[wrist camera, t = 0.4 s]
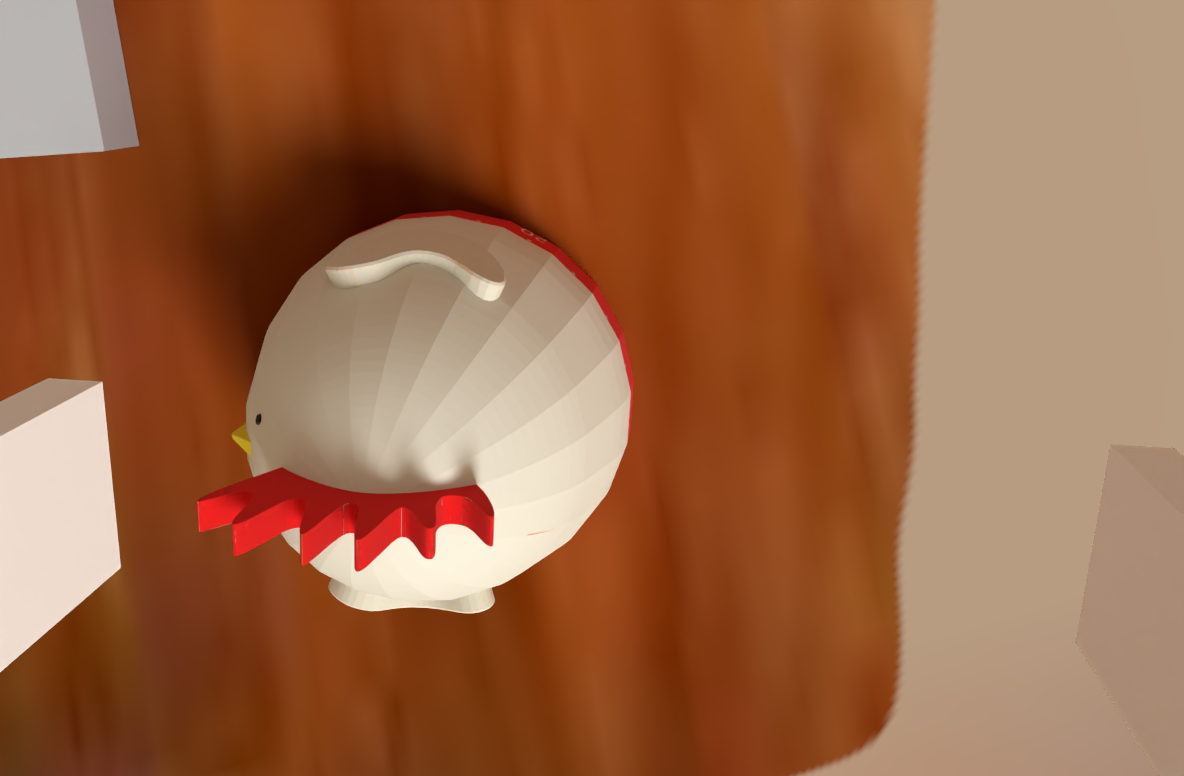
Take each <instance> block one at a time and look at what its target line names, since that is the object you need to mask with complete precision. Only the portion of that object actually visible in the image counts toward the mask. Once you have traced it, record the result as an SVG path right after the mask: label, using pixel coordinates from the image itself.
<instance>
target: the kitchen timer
mask: <svg viewBox="0 0 1184 776" xmlns="http://www.w3.org/2000/svg"><path fill="white" fill-rule="evenodd" d="M633 386H634V378H633V374H632V369H631V365H630V361H629V356H628V352H627V348H626V343H625V339H624V334H623V330H622V328H621V327H620V325H619V323H618V321H617V320H616V318H615V316H614V314H613V312H612V311H611V309H610V307H609V305H608V304H607V302H606V300H605V298H604V296H603V295H602V293H601V291H600V289H599V288H598V286H597V284H596V283H595V282H594V281H593V280H592V279H591V278H590V277H589V276H588V275H587V274H586V273H585V272H584V271H583V270H581V269H580V268H579V267H578V266H577V265H576V264H575V263H574V262H573V261H572V260H571V259H570V258H569V257H568V256H567V255H566V254H565V253H564V252H563V251H562V250H561V249H560V248H559V247H558V246H556V245H554V244H552V243H550V242H548V241H547V240H545V239H543V238H541V237H539V236H537V235H536V234H534V233H532V232H530V231H528V230H526V229H525V228H523V227H521V226H519V225H517V224H515V223H514V222H512V221H508V220H503V219H499V218H494V217H490V216H485V215H480V214H476V213H471V212H467V211H462V210H451V211H437V212H424V213H410V214H405V215H403V216H400V217H398V218H395V219H392V220H390V221H387V222H385V223H382V224H380V225H377V226H375V227H372V228H370V229H367V230H364V231H362V232H359V233H357V234H355V235H353V236H351V237H349V238H347V239H346V240H345V241H343V242H342V243H341V244H340V245H339V246H337V247H336V248H335V249H334V250H332V251H331V252H330V253H329V254H327V255H326V256H325V257H324V258H323V259H321V260H320V261H319V262H318V263H316V264H315V265H314V266H313V267H311V268H310V269H309V270H308V271H307V272H306V273H304V274H303V275H302V276H301V278H300V279H299V281H298V282H297V283H296V285H295V287H294V288H293V290H292V291H291V293H290V294H289V296H288V297H287V299H286V300H285V302H284V304H283V305H282V307H281V308H280V310H279V311H278V313H277V314H276V316H275V317H274V319H273V321H272V322H271V324H270V325H269V328H268V330H267V332H266V335H265V338H264V342H263V345H262V348H261V352H260V356H259V359H258V363H257V367H256V370H255V374H254V378H253V381H252V385H251V389H250V392H249V396H248V400H247V404H246V423H245V424H244V425H243V426H241V427H240V428H238V429H237V430H236V431H234V432H233V433H232V438H233V439H234V440H235V441H236V442H237V443H238V444H239V445H240V446H241V447H242V448H243V449H244V450H245V451H246V452H247V453H248V461H249V465H250V468H251V471H252V474H253V477H252V478H250V479H247V480H244V481H241V482H238V483H235V484H233V485H230V486H227V487H225V488H222V489H219V490H217V491H215V492H213V493H210V494H208V495H206V496H204V497H202V498H200V499H199V500H197V508H198V529H199V532H202V531H206V530H210V529H214V528H217V527H221V526H224V525H228V524H232V535H233V555H234V556H238V555H241V554H243V553H245V552H247V551H249V550H251V549H253V548H255V547H257V546H259V545H260V544H262V543H264V542H266V541H268V540H269V539H271V538H273V537H275V536H277V535H279V534H280V533H281V534H282V535H283V537H284V538H285V540H286V541H287V543H288V544H289V545H290V546H292V547H293V548H294V549H295V550H296V551H297V552H298V553H299V554H300V564H301V566H304V565H306V564H308V563H311V564H312V565H313V566H314V567H315V568H316V569H317V570H318V571H320V572H322V573H324V574H326V575H327V576H329V577H331V578H332V579H331V581H330V583H329V590H330V592H331V593H332V594H333V595H334V596H335V597H336V598H337V599H338V600H339V601H341V602H342V603H344V604H346V605H348V606H351V607H353V608H357V609H361V610H368V611H381V610H388V609H395V608H405V607H419V608H433V609H442V610H448V611H453V612H460V613H477V612H481V611H485V610H487V609H489V608H490V607H491V606H492V605H493V604H494V602H495V598H494V595H493V592H492V588H491V587H495V586H498V585H501V584H503V583H505V582H507V581H509V580H510V579H512V578H514V577H515V576H517V575H519V574H520V573H522V572H523V571H525V570H526V569H528V568H529V567H531V566H532V565H534V564H535V563H537V562H538V561H540V560H541V559H543V558H544V557H546V556H547V555H549V554H550V553H552V552H553V551H555V550H556V549H558V548H559V547H561V546H562V545H564V544H565V543H566V542H568V541H569V540H570V539H571V538H572V537H573V535H574V534H575V533H576V532H577V531H578V529H579V528H580V527H581V526H582V524H583V523H584V522H585V521H586V519H587V518H588V517H589V516H590V514H591V513H592V512H593V511H594V509H595V508H596V507H597V506H598V504H599V503H600V502H601V501H602V500H603V498H604V497H605V496H606V494H607V492H608V491H609V489H610V486H611V484H612V481H613V478H614V476H615V473H616V471H617V468H618V466H619V463H620V461H621V458H622V455H623V453H624V450H625V448H626V445H627V442H628V438H629V434H630V429H631V414H632V400H633Z"/></svg>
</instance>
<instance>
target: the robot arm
mask: <svg viewBox="0 0 1184 776" xmlns="http://www.w3.org/2000/svg"><path fill="white" fill-rule="evenodd" d="M120 568H121V564H120V554H119V544H118V534H117V524H116V514H115V504H114V494H113V484H112V474H111V464H110V454H109V444H108V434H107V424H106V414H105V404H104V394H103V384H102V382H99V381H83V380H67V379H51V378H48V379H46V380H44V381H42V382H40V383H38V384H36V385H34V386H31V387H29V388H27V389H25V390H23V391H21V392H19V393H17V394H15V395H13V396H11V397H9V398H7V399H5V400H3V401H1V402H0V672H1V671H2V670H3V669H4V668H6V667H7V666H8V665H9V664H10V663H11V662H13V661H14V660H15V659H16V658H17V657H18V656H19V655H21V654H22V653H23V652H24V651H25V650H26V649H28V648H29V647H30V646H31V645H32V644H33V643H34V642H36V641H37V640H38V639H39V638H40V637H41V636H43V635H44V634H45V633H46V632H47V631H48V630H49V629H51V628H52V627H53V626H54V625H55V624H56V623H58V622H59V621H60V620H61V619H62V618H63V617H64V616H66V615H67V614H68V613H69V612H70V611H71V610H73V609H74V608H75V607H76V606H77V605H78V604H79V603H81V602H82V601H83V600H84V599H85V598H86V597H88V596H89V595H90V594H91V593H92V592H93V591H94V590H96V589H97V588H98V587H99V586H100V585H101V584H103V583H104V582H105V581H106V580H107V579H108V578H109V577H111V576H112V575H113V574H114V573H115V572H116V571H118V570H119V569H120ZM1076 644H1077V645H1078V647H1079V648H1080V650H1081V652H1082V653H1083V655H1084V656H1085V658H1086V660H1087V661H1088V663H1089V665H1090V666H1091V668H1092V670H1093V671H1094V673H1095V674H1096V676H1097V678H1098V679H1099V681H1100V682H1101V684H1102V686H1103V687H1104V689H1105V690H1106V692H1107V694H1108V696H1109V697H1110V699H1111V700H1112V702H1113V704H1114V705H1115V707H1116V708H1117V710H1118V711H1119V713H1120V715H1121V717H1122V718H1123V720H1124V721H1125V723H1126V725H1127V726H1128V728H1129V729H1130V731H1131V733H1132V734H1133V736H1134V737H1135V739H1136V741H1137V743H1138V744H1139V746H1140V747H1141V749H1142V751H1143V752H1144V754H1145V755H1146V757H1147V759H1148V760H1149V762H1150V764H1151V765H1152V767H1153V769H1154V770H1155V772H1156V773H1157V775H1158V776H1184V456H1183V455H1181V454H1180V453H1179V452H1178V451H1177V450H1176V449H1174V448H1158V447H1142V446H1126V445H1110V450H1109V456H1108V461H1107V467H1106V473H1105V478H1104V485H1103V490H1102V496H1101V501H1100V507H1099V512H1098V518H1097V524H1096V529H1095V535H1094V541H1093V546H1092V552H1091V558H1090V563H1089V569H1088V575H1087V580H1086V586H1085V592H1084V598H1083V603H1082V609H1081V614H1080V620H1079V626H1078V632H1077V637H1076Z"/></svg>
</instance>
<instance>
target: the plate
mask: <svg viewBox="0 0 1184 776" xmlns="http://www.w3.org/2000/svg"><path fill="white" fill-rule="evenodd" d="M134 146H139V141H138V136H137V130H136V125H135V119H134V114H133V108H132V103H131V97H130V92H129V86H128V81H127V75H126V70H125V64H124V59H123V53H122V48H121V42H120V37H119V31H118V25H117V20H116V14H115V9H114V3H113V0H0V158H12V157H27V156H41V155H55V154H70V153H84V152H99V151H108V150H115V149H121V148H127V147H134Z"/></svg>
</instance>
